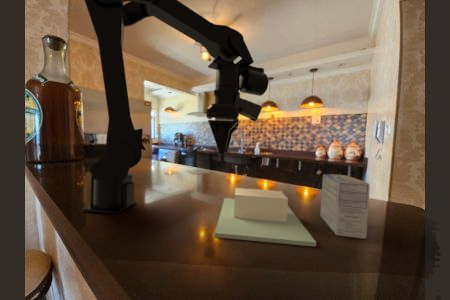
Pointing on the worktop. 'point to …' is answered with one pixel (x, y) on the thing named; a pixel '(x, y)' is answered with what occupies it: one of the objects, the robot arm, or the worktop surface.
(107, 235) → the worktop surface
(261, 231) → the mat
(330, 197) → the medicine box
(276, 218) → the block
